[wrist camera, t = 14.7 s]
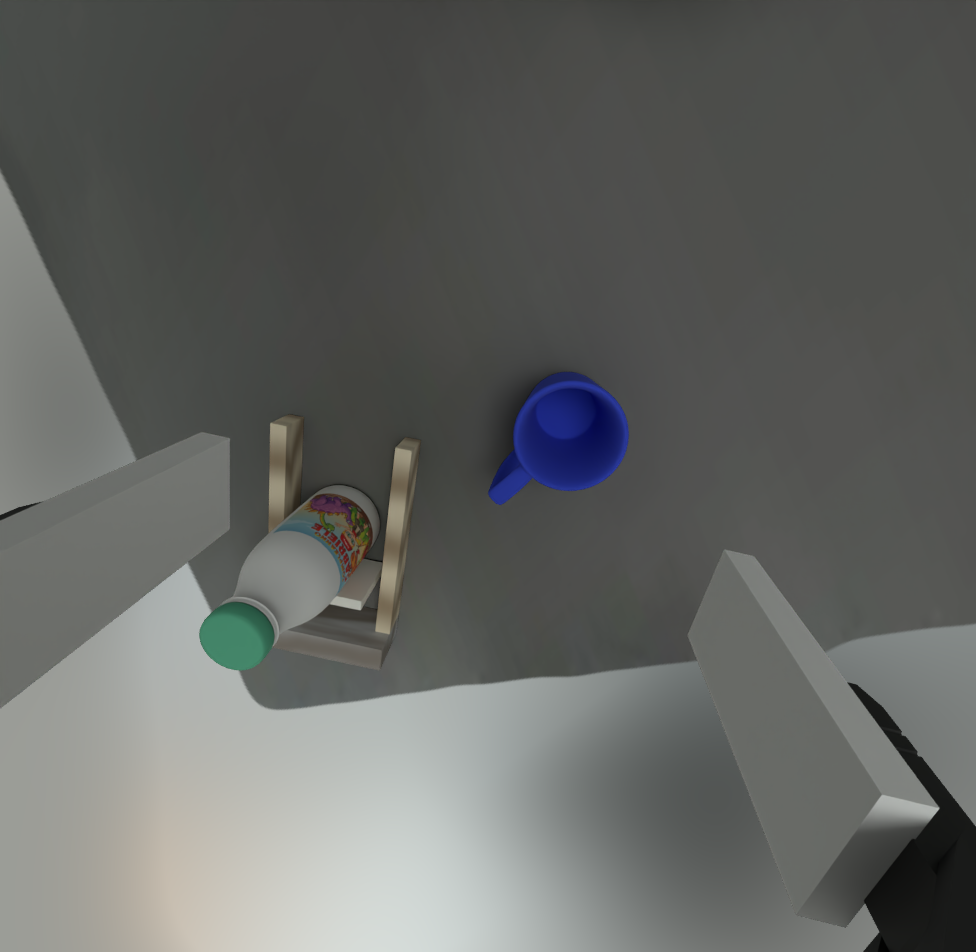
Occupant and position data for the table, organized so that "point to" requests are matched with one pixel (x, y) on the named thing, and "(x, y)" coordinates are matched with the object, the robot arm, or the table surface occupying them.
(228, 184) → the table surface
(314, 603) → the milk bottle
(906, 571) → the table surface
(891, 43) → the table surface
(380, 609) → the lane
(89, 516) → the robot arm
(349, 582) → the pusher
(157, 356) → the table surface
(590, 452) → the mug
